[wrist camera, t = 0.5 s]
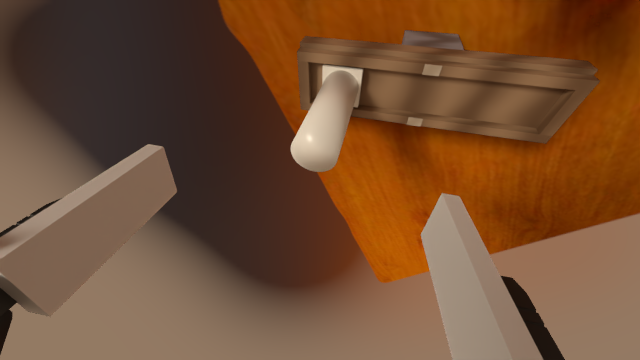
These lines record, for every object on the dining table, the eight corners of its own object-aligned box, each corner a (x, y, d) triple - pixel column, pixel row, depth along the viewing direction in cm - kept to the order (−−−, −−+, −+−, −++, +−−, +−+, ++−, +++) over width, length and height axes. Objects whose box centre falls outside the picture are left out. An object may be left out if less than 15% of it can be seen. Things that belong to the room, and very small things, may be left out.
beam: (565, 42, 26) (605, 76, 21) (520, 108, 32) (543, 147, 27) (316, 23, 31) (296, 46, 26) (317, 83, 37) (300, 113, 32)
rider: (363, 66, 27) (341, 137, 18) (359, 103, 30) (338, 177, 21) (324, 62, 27) (285, 128, 19) (324, 98, 31) (290, 168, 22)
